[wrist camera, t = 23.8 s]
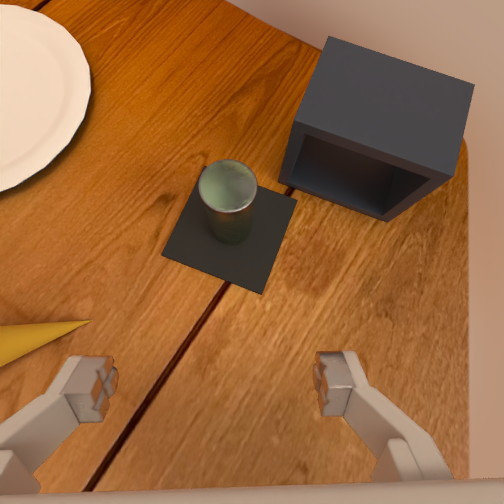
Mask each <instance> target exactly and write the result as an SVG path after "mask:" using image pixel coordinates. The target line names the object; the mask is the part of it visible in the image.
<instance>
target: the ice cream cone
mask: <svg viewBox="0 0 504 504" xmlns="http://www.w3.org/2000/svg"><path fill="white" fill-rule="evenodd" d="M90 321H92V320H83V321H68V322H53V323H37V324H22V325H6V326H0V367H1V366H3V365H5V364H7V363H9V362H11V361H13V360H15V359H17V358H19V357H21V356H23V355H24V354H26V353H28V352H30V351H32V350H34V349H36V348H38V347H40V346H42V345H44V344H46V343H48V342H50V341H52V340H54V339H56V338H58V337H60V336H62V335H64V334H66V333H68V332H70V331H72V330H74V329H76V328H78V327H80V326H82V325H84V324H86V323H88V322H90Z"/></svg>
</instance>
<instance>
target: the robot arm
mask: <svg viewBox="0 0 504 504" xmlns="http://www.w3.org/2000/svg"><path fill="white" fill-rule="evenodd" d="M315 360H316V363H315V364H314V365H313V383H314V387H315V390H316V391H317V392H318V393H319V395H318V404H319V408H320V412H321V416H344V417H343V418H344V419H345V420H346V421H347V423H348V424H349V425H350V426H351V428H352V429H353V430H354V431H355V432H356V434H357V435H358V436H359V437H360V438H361V440H362V441H363V442H364V443H365V444H366V446H367V447H368V448H369V449H370V451H371V452H372V453H373V454H374V455H375V457H376V458H377V459H378V462H377V464H376V466H375V468H374V470H373V472H372V474H371V479H372V482H367V483H338V484H308V485H279V486H249V487H220V488H191V489H161V490H132V491H104V492H75V493H46V494H38V493H39V491H40V489H41V486H40V483H39V482H38V481H37V479H36V478H35V477H34V476H33V475H32V474H33V473H34V472H35V471H36V470H37V469H38V468H39V467H40V466H41V465H42V464H43V463H44V461H45V460H46V459H47V458H48V457H49V456H50V455H51V454H52V453H53V452H54V451H55V450H56V449H57V448H58V447H59V446H60V445H61V444H62V443H63V442H64V441H65V440H66V439H67V438H68V437H69V436H70V434H71V433H72V432H73V431H74V430H75V429H76V428H77V427H78V426H79V425H80V424H79V423H95V422H103V421H104V418H105V416H106V414H107V411H108V409H109V406H110V403H109V400H108V399H109V398H110V397H111V396H113V395H114V394H115V391H116V389H117V386H118V380H119V374H118V370H117V368H115V367H114V366H113V363H114V359H113V357H112V356H70V357H69V358H68V359H67V360H66V361H65V363H64V365H63V366H62V368H61V369H60V371H59V373H58V374H57V376H56V377H55V379H54V380H53V382H52V384H51V385H50V387H49V388H48V390H47V391H46V393H45V395H39V396H38V397H37V398H35V399H34V400H33V401H31V402H30V403H29V404H27V405H26V406H24V407H23V408H22V409H20V410H19V411H18V412H16V413H15V414H14V415H12V416H11V417H9V418H8V419H7V420H5V421H4V422H3V423H1V424H0V504H504V478H485V479H484V478H483V479H454V477H453V476H452V474H451V472H450V470H449V468H448V466H447V464H446V462H445V461H444V459H443V457H442V455H441V453H440V451H439V449H438V448H437V446H436V444H435V442H434V440H433V438H432V437H431V436H430V435H429V434H428V433H427V432H426V431H425V430H423V429H422V428H421V427H420V426H419V425H418V424H416V423H415V422H414V421H413V420H412V419H411V418H409V417H408V416H407V415H406V414H405V413H404V412H402V411H401V410H400V409H399V408H398V407H397V406H396V405H394V404H393V403H392V402H391V401H390V400H389V399H387V398H386V397H385V396H384V395H383V394H382V393H380V392H379V391H378V390H377V389H376V388H375V387H370V385H369V382H368V380H367V378H366V375H365V373H364V371H363V368H362V366H361V364H360V362H359V359H358V357H357V355H356V353H355V352H354V351H317V352H316V354H315Z"/></svg>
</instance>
